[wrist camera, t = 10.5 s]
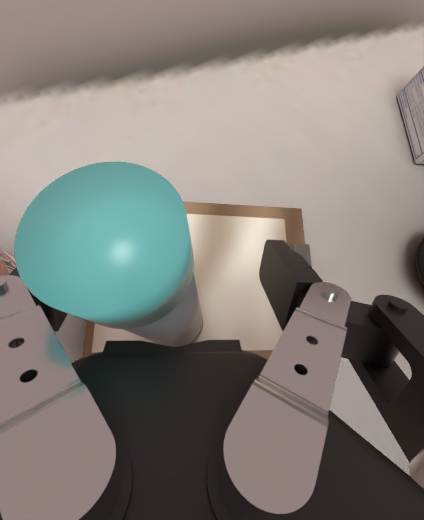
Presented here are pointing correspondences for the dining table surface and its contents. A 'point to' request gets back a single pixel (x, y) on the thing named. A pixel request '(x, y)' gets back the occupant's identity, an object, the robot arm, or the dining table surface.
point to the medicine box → (414, 114)
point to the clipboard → (228, 274)
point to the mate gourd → (420, 261)
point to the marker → (113, 252)
